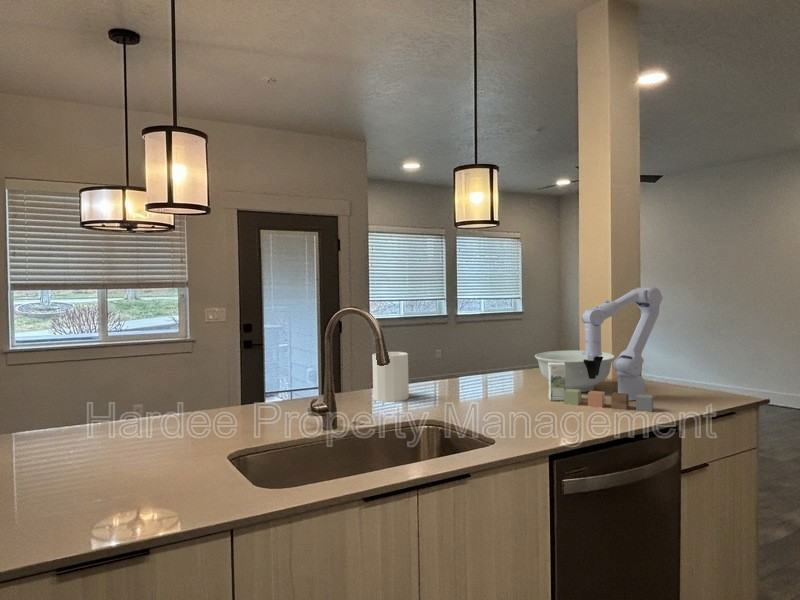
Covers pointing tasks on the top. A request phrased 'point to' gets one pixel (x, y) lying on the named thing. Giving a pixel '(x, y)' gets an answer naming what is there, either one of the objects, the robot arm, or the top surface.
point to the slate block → (644, 403)
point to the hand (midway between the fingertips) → (593, 377)
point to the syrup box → (556, 381)
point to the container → (391, 378)
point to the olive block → (572, 396)
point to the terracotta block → (596, 399)
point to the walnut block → (620, 401)
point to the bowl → (575, 368)
